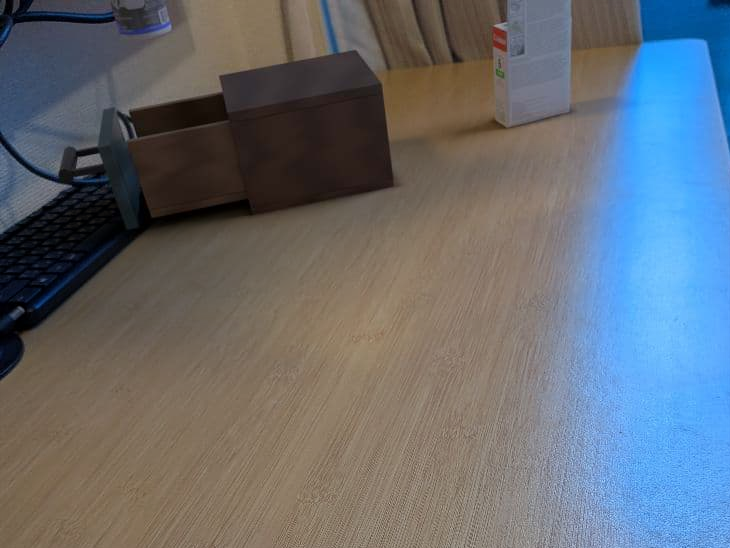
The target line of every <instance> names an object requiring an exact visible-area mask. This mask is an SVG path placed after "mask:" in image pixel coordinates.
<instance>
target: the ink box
mask: <svg viewBox="0 0 730 548" xmlns="http://www.w3.org/2000/svg"><path fill="white" fill-rule="evenodd" d="M505 2H506V22H502V23H497V24H494V25H492V56H493V57H492V58H493V99H494V100H493V101H494V121H495V122H497V123H498V124H500V125H501V126H503V127H504V128H506V129H509V128H513V127H517V126H521V125H524V124H528V123H532V122H533V123H534V122H537V121H540V120H544V119H548V118H552V117H556V116H560V115H563V114H569V113H570V108H571V107H570V104H571V103H570V101H571V100H570V99H571V61H572V60H571V59H572V57H571V54H572V53H571V52H572V20H573V19H572V18H573V17H572V0H506V1H505Z"/></svg>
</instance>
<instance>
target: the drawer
mask: <svg viewBox="0 0 730 548" xmlns="http://www.w3.org/2000/svg"><path fill="white" fill-rule="evenodd" d="M128 114H129V117H130V120H131V123H132V127H133V130H134V133H135V136H136V137H134V138H129V139H126V138H125V137H126V136H125V135H124V131H123V128H122V125H121V122H120V120H119V119H120V118H119V117H118V114H117V111H116V108H115V107H109V108H104V109H103V110H102V115H101V123H100V127H99V136H98V141H97V145H95V146H89V147H85V148H80V149H76V148H75V147H74V146H66V147H65V148H64V150H63V153H62V157H61V160H60V161H61V162H60V165H59V169H58V174H57V177H58V179H59V181H61V182H62V183H63V184H67V185H69V184H71V183H73V182H74V178H78V177H79V178H80V177H84V176H90V175H93V174H99V173H106V176H107V179H108V181H109V182H108V183H109V185H110V187H111V190H112V193H113V196H114V197H115V201H116V204H117V207H118V210H119V212H120V216H121V218H122V221H123V224H124V226H125V227H124V228H125V230H127V229H128V230H127V231H129V230H134V229H139V221H138V212H139V213H140V191H142V195H143V198H144V201H145V204H146V207H147V209H148V212H149V215H150V218H151V219H154V218H160V217H165V216H169V215H175V214H179V213H184V212H189V211H195V210H199V209H200V210H201V209H204V208H208V207H213V206H214V207H215V206H220V205H224V204H229V203H234V202H239V201H245V200H248V196H247V191H246V187H245V183H244V179H243V175H242V171H241V167H240V163H239V159H238V155H237V150H236V146H235V142H234V138H233V134H232V130H231V126H230V122H229V118H228V114H227V109H226V105H225V101H224V96H223V92H222V91H219V92H214V93H209V94H203V95H199V96H193V97H188V98H181V99H178V100H177V99H176V100H172V101H167V102H162V103H161V102H160V103H156V104H150V105H145V106H141V107H135V108H130V109H128ZM98 154H99V156H100V160H101V162H102V163H99V164H94V165H93V164H92V165H88V166H82V167H77V164H78V160H79V158H83V157H88V156H93V155H98Z"/></svg>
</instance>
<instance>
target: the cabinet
mask: <svg viewBox="0 0 730 548" xmlns="http://www.w3.org/2000/svg"><path fill="white" fill-rule="evenodd" d="M218 78H219V82H220V83H219V84H220V87H221V92H223V96H224V101H225V105H226V109H227V114H228V118H229V122H230V126H231V130H232V134H233V138H234V142H235V146H236V150H237V155H238V159H239V163H240V167H241V171H242V175H243V179H244V183H245V187H246V191H247V196H248V199H247V201H248V204H249V208H250V211H251V215H252V216H255V215H260V214H265V213H270V212H274V211H275V212H276V211H279V210H285V209H289V208H295V207H299V206H305V205H309V204H313V203H319V202H324V201H329V200H334V199H339V198H344V197H349V196H353V195H359V194H362V193H363V194H364V193H368V192H373V191H377V190H383V189H387V188H392V187H395V181H394V172H393V165H392V163H393V162H392V155H391V147H390V139H389V132H388V122H387V115H386V105H385V97H384V89H383V82H381V80H380V79H379V77H377V75H376V73H374V71H373V70H372V68H370V66H369V65H368V64H367V62H366V61H365V60H364V58H363V57H362V56H361V54H360V53H359V52H358V50H356V49H352V50H348V51H342V52H336V53H331V54H325V55H321V56H315V57H311V58H304V59H300V60H294V61H289V62H283V63H277V64H274V65H268V66H263V67H257V68H251V69H247V70H240V71H235V72H230V73H225V74H221V75H218Z"/></svg>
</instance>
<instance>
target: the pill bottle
mask: <svg viewBox="0 0 730 548" xmlns="http://www.w3.org/2000/svg"><path fill="white" fill-rule="evenodd" d="M109 3H110V7H111V10H112V13H113V16H114V19H115V23H116V27H117V30H118V33H119V36H120V38H121V39H122V40H123V41H126V42H144V41H149V40H153V39H157V38H160V37H163V36H165V35H168V34H169V33H171V31H172V24H171V20H170V16H169V11H168V8H167V5H166V0H145V2H144V6H143V7H142V8H138V9H132V10H129V9H126V8H125V6H124V5H123V1H122V0H109Z"/></svg>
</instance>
